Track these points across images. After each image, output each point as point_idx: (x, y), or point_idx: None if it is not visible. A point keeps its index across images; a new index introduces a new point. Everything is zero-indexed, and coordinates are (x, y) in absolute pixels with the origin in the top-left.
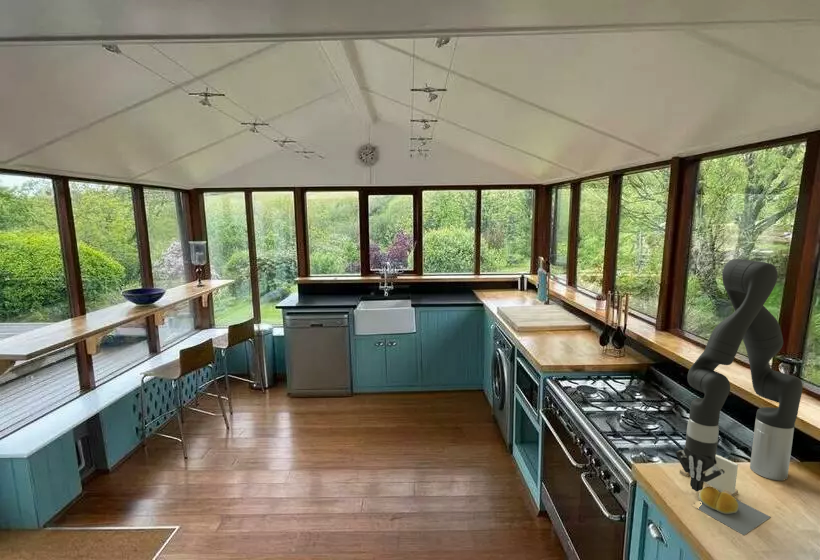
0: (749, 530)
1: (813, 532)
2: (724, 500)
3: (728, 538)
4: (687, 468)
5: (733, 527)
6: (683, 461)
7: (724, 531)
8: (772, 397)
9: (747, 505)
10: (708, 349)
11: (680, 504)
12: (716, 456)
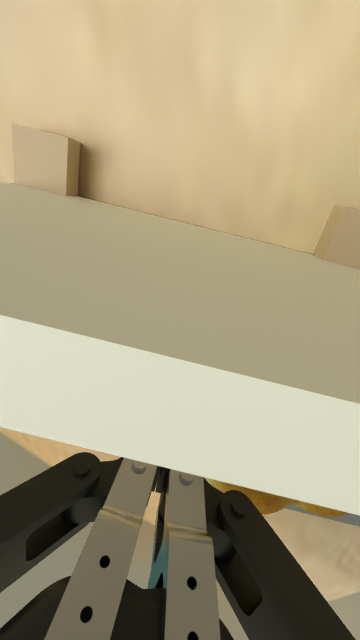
0: None
1: None
2: (330, 516)
3: (329, 559)
4: (73, 531)
5: (347, 516)
6: (4, 587)
7: (316, 540)
8: None
9: None
10: None
11: (158, 496)
12: (309, 499)
